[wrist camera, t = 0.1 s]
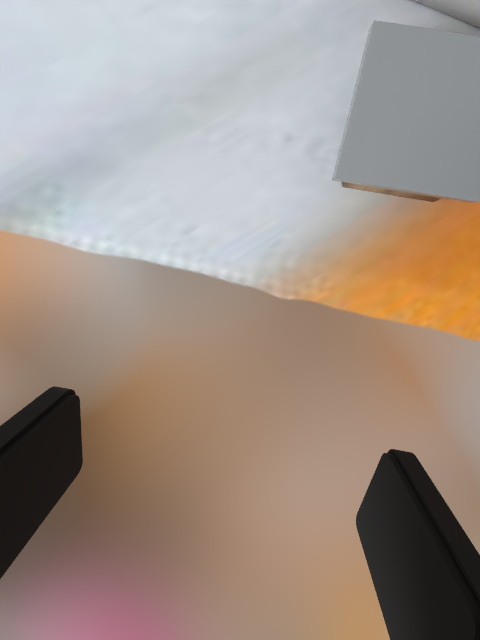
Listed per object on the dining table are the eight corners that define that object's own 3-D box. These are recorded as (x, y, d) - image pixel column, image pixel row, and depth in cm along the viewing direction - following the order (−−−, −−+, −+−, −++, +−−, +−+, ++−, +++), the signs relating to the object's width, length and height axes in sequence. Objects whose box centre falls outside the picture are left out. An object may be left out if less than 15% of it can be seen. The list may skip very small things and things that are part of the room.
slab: (369, 29, 25) (374, 20, 23) (530, 54, 24) (543, 45, 23) (332, 180, 29) (334, 178, 27) (470, 203, 28) (478, 202, 27)
